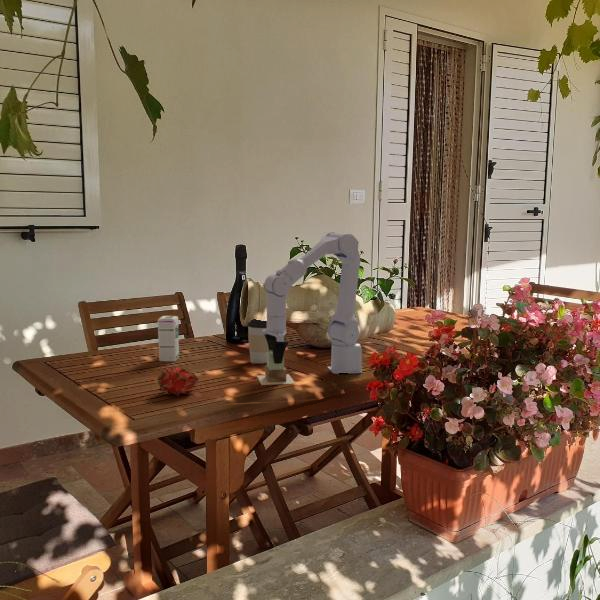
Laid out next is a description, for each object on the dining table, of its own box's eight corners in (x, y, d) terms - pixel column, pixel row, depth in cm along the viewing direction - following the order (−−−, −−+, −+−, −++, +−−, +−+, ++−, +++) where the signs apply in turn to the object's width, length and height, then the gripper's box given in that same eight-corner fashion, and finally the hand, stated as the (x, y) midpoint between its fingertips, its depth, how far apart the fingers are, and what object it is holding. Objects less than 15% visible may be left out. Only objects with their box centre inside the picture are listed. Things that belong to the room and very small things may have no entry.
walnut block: (282, 376, 199) (283, 365, 198) (286, 381, 194) (286, 370, 193) (265, 377, 198) (265, 366, 197) (268, 382, 192) (268, 370, 192)
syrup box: (176, 361, 216) (175, 318, 214) (158, 361, 216) (157, 318, 214) (179, 357, 222) (178, 315, 220) (162, 357, 222) (161, 315, 220)
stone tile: (288, 375, 202) (288, 374, 202) (295, 384, 192) (295, 383, 192) (256, 377, 200) (256, 375, 199) (261, 386, 190) (261, 384, 190)
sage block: (281, 365, 198) (281, 349, 197) (284, 369, 193) (284, 353, 192) (266, 366, 197) (267, 350, 196) (269, 370, 192) (269, 353, 192)
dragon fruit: (153, 401, 180) (194, 401, 185) (163, 390, 173) (205, 391, 179) (151, 372, 183) (191, 374, 189) (160, 360, 177) (202, 362, 183)
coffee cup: (257, 357, 224) (257, 314, 221) (279, 361, 219) (280, 317, 217) (241, 362, 216) (242, 318, 214) (264, 366, 212) (264, 321, 209)
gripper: (259, 311, 199) (259, 354, 201) (266, 320, 185) (266, 366, 187) (282, 311, 200) (281, 354, 202) (291, 319, 186) (290, 365, 188)
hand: (275, 360), depth 195 cm, fingers open, 7 cm apart
